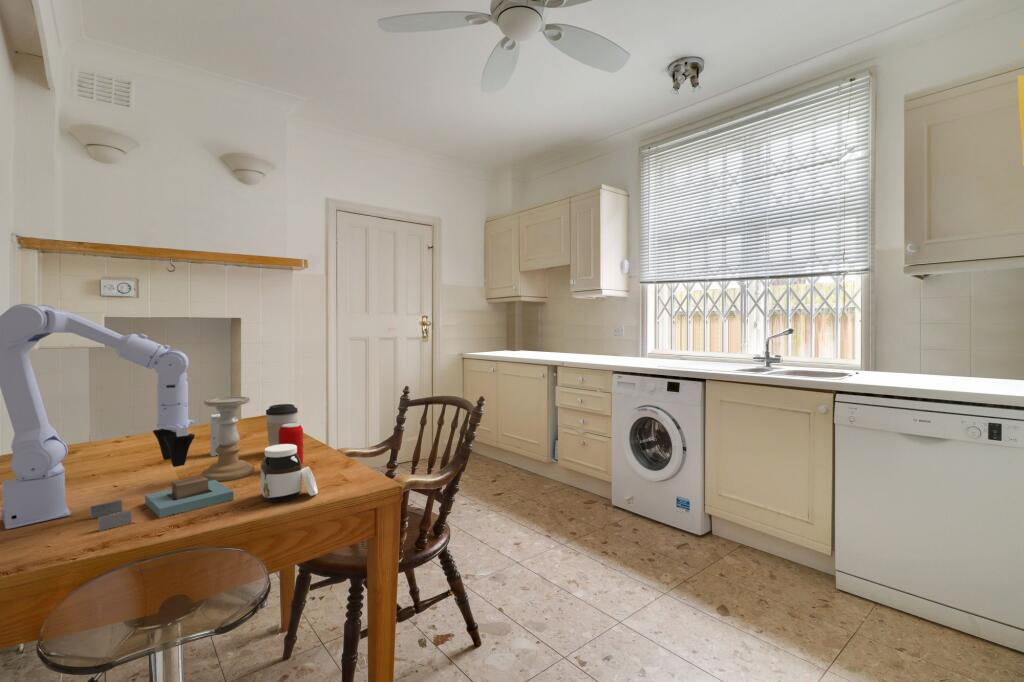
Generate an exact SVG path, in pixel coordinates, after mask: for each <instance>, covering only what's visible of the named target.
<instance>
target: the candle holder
mask: <svg viewBox="0 0 1024 682" xmlns="http://www.w3.org/2000/svg"><path fill="white" fill-rule="evenodd" d="M249 402H250V398H249V396H248V397H247V396H240V395H239V396H235V395H234V396H219V397H213V398H208V399H206V400H205V399H204V402H203V405H205V406H207V407H211V408H212V407H213V408H215V410H216V411H217V412H219V413H218V414H220V418H219V419H218V420H217V424H219V431H218V435H217V438H216V442H217V444H219V446H218V447H217V448H216V450H215V452H216V453H217V454H219V455H217V456H218V458H217V462H215V463H213V464H211V465H210V466H209V467H207V468H205V469H204V470H202V472H201V473H200V476H202V475H203V476H204V477H206V478H207V479H208V481H211V480H216V481H218V482H226V481H227V480H228V481H233V480H237V479H238V480H239V479H243V478H245V477H248V476H250V475H252V474H253V473H254V472H255V466H254V464H253V463H249V462H247V461H246V460H243V459H239V453H238V452H240V450H242V449H241V448H242V447H241V446H240V445H239V442H240V438H241V437H240V434H239V431H238V428H237V423H238V422H239V419H238V417H236V411H237V410H238V409H239V406H242V405H246V404H248V403H249Z"/></svg>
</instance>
